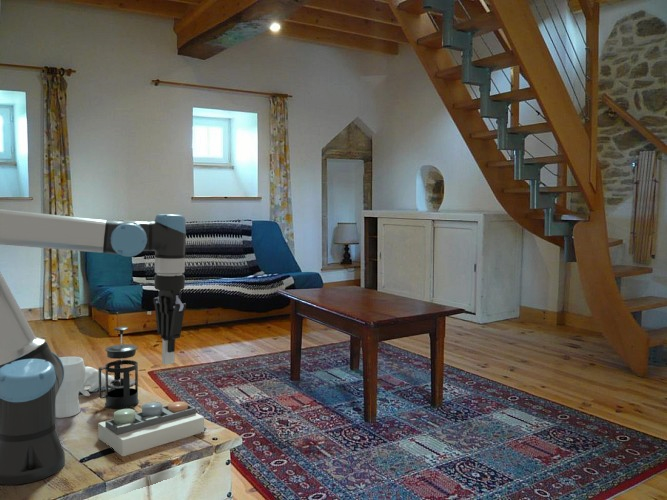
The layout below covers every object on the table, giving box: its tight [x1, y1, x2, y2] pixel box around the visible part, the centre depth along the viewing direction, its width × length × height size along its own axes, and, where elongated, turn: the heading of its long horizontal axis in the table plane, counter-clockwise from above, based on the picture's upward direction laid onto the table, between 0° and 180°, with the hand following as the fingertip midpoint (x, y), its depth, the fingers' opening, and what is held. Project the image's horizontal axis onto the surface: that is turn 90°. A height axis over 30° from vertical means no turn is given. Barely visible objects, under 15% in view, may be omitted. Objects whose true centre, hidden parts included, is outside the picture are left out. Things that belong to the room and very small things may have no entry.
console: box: [97, 401, 205, 457], centre depth 145 cm, size 22×14×6 cm, turn 135°
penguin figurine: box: [79, 366, 114, 397], centre depth 177 cm, size 6×8×12 cm
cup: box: [55, 356, 86, 419], centre depth 158 cm, size 11×11×15 cm
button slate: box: [141, 401, 163, 417], centre depth 145 cm, size 5×5×2 cm
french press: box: [98, 326, 140, 410], centre depth 166 cm, size 12×9×23 cm
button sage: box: [113, 408, 136, 424], centre depth 139 cm, size 5×5×2 cm
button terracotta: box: [168, 401, 189, 413], centre depth 150 cm, size 5×5×2 cm
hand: (168, 363), depth 147 cm, fingers closed
